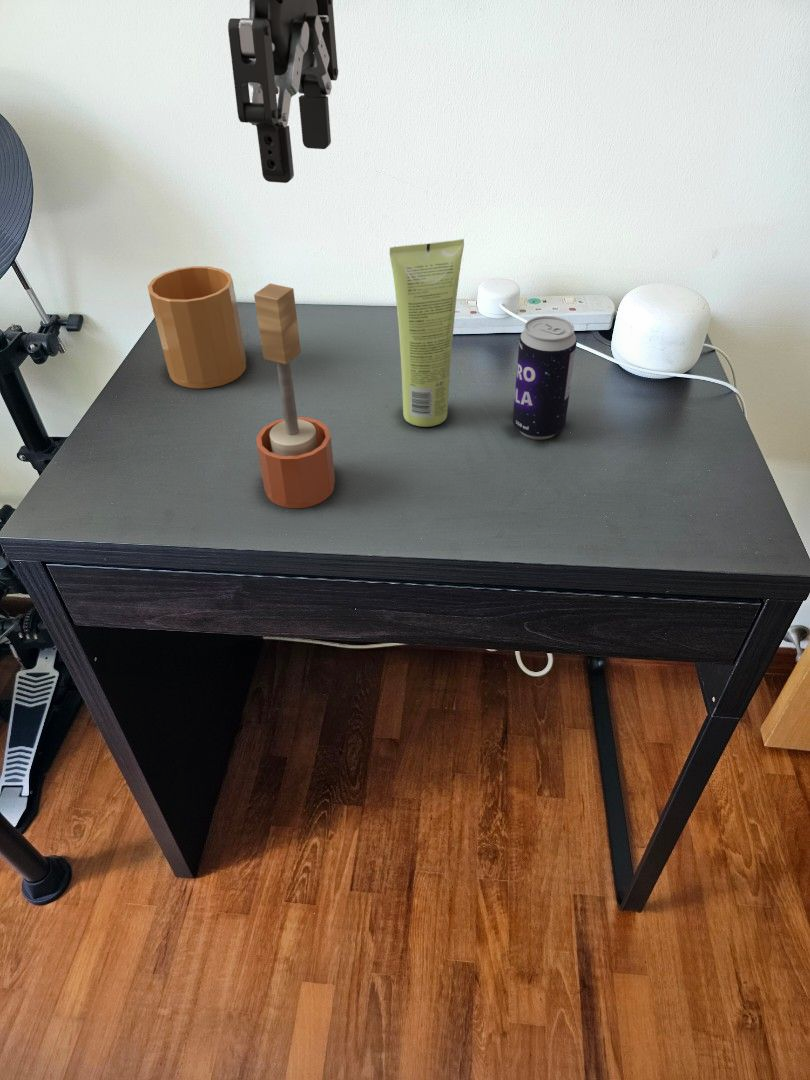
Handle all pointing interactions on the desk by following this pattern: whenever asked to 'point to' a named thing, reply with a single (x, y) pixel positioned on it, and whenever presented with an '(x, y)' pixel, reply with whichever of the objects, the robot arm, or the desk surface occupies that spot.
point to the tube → (426, 325)
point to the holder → (297, 470)
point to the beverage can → (544, 376)
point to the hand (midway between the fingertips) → (299, 163)
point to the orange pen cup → (198, 326)
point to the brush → (283, 366)
